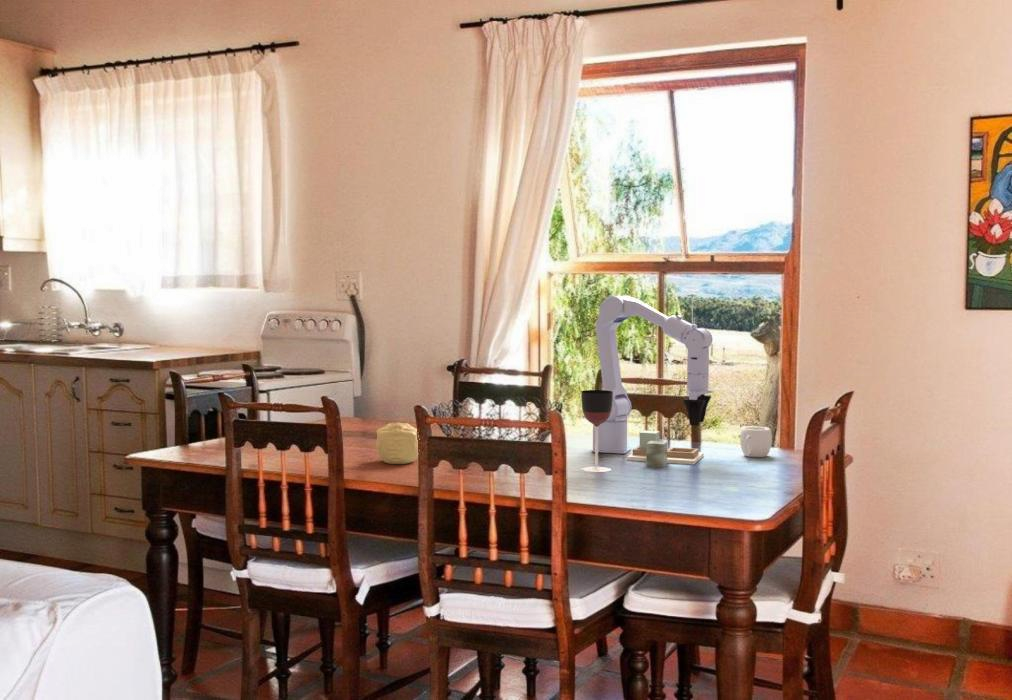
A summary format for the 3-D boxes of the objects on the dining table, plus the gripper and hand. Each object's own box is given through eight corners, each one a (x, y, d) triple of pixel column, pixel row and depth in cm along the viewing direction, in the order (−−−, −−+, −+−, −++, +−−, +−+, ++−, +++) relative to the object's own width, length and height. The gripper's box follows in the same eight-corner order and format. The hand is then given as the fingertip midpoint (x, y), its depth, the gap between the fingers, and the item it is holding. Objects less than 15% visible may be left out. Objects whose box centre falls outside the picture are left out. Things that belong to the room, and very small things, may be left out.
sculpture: (374, 466, 271) (373, 425, 271) (379, 458, 283) (379, 419, 283) (417, 466, 271) (417, 425, 271) (421, 458, 283) (421, 419, 282)
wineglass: (585, 472, 262) (585, 393, 261) (577, 466, 271) (577, 390, 270) (615, 472, 264) (616, 393, 262) (607, 465, 272) (607, 389, 271)
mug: (746, 452, 294) (747, 425, 293) (775, 455, 289) (776, 427, 289) (730, 458, 284) (730, 430, 283) (760, 461, 279) (760, 432, 279)
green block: (646, 466, 272) (646, 443, 272) (650, 463, 277) (650, 440, 276) (663, 467, 271) (663, 444, 270) (667, 464, 275) (667, 441, 275)
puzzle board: (627, 460, 281) (627, 434, 280) (639, 452, 294) (639, 427, 293) (693, 464, 274) (694, 438, 274) (703, 456, 287) (703, 431, 287)
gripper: (708, 376, 272) (707, 427, 273) (717, 371, 286) (716, 421, 287) (681, 375, 275) (680, 426, 275) (691, 370, 288) (690, 419, 289)
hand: (697, 423), depth 281 cm, fingers open, 7 cm apart
